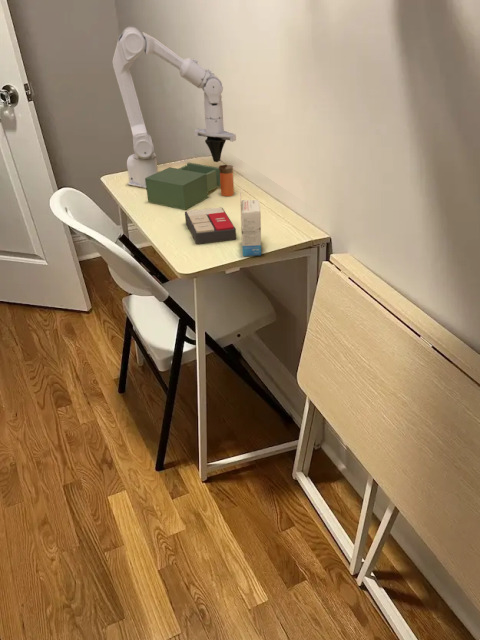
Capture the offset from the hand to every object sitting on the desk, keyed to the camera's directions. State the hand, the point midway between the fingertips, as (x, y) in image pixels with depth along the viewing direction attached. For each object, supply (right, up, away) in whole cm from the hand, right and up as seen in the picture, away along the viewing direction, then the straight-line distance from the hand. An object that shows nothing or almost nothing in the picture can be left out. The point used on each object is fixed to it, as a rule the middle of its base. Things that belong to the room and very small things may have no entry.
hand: (216, 161), depth 189 cm
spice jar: (+4, -14, -8) cm, 16 cm away
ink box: (+14, -40, -41) cm, 59 cm away
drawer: (-5, -10, -4) cm, 12 cm away
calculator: (+2, -32, -32) cm, 46 cm away
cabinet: (-10, -17, -13) cm, 24 cm away
